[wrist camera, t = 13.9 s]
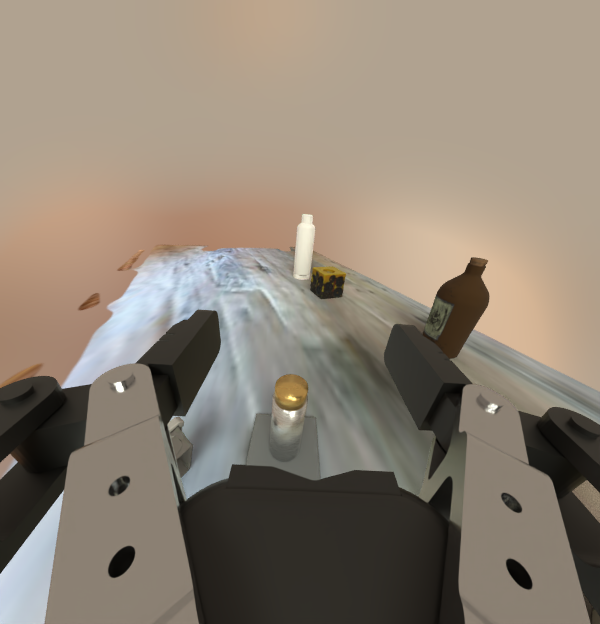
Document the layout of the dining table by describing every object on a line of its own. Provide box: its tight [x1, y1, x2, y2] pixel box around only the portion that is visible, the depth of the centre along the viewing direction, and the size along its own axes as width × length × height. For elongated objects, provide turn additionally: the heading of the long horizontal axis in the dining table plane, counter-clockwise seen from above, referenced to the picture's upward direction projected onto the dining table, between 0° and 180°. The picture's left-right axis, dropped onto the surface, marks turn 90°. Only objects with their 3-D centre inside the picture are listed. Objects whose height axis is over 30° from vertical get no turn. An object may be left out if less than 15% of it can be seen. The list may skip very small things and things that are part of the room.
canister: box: [269, 374, 308, 462], centre depth 29 cm, size 4×4×12 cm
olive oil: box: [422, 258, 489, 359], centre depth 55 cm, size 11×11×25 cm
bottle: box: [293, 214, 315, 280], centre depth 100 cm, size 8×8×28 cm
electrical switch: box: [168, 417, 193, 477], centre depth 24 cm, size 9×5×9 cm, turn 149°
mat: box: [246, 414, 320, 480], centre depth 32 cm, size 10×10×1 cm
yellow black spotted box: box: [310, 267, 346, 299], centre depth 88 cm, size 10×10×10 cm
